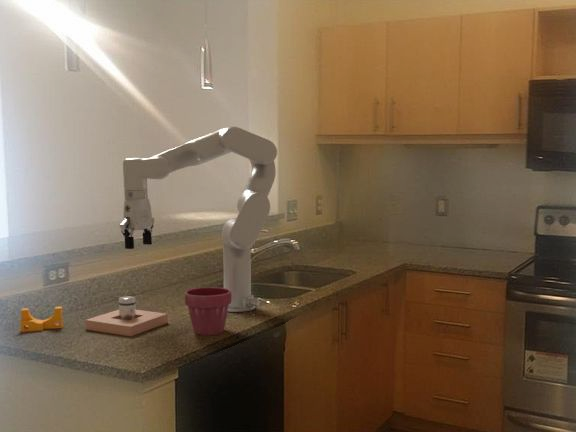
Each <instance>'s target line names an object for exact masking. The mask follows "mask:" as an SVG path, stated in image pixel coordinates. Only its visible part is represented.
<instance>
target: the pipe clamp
mask: <svg viewBox="0 0 576 432" xmlns="http://www.w3.org/2000/svg"><path fill="white" fill-rule="evenodd" d="M20 317H21V318H20V319H21V320H20V332H21V333H25V332H36V331H43V330H45V329H46V330H48V329H49V330H50V329H63V326H64V325H63V324H64V321H63V306H55V307H54V313H53V314H52V315H51V316H50V317H48V318H46V319H38V318H35V317H34V316H33V315H32V314H31V312H30V307H28V308H27V307H25V308H21V309H20Z"/></svg>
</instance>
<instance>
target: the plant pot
mask: <svg viewBox="0 0 576 432" xmlns="http://www.w3.org/2000/svg"><path fill="white" fill-rule="evenodd" d="M231 300H232V294H231V290H229V289H226V288H224V287H218V286H216V287H214V286H211V287H210V286H209V287H208V286H207V287H206V286H205V287H194V288H191V289H187V290H186V291H185V292H184V304H185V305H186V306H187V308H188V311H189V312H188V313H189V318H190V321H191V324H192V325H191V326H192V329H193V333H194V334H195V335H199V334H202V335H201V336H212V335H213V334H214V335H219V334H221V333H223V332H224V330H225V327H226V322H227V316H228V306H229V304H230V303H231Z"/></svg>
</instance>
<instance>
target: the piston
mask: <svg viewBox="0 0 576 432" xmlns="http://www.w3.org/2000/svg"><path fill="white" fill-rule="evenodd" d="M136 304H137V301H136V296H129V295H128V296H121V297H118V310H119V319H120V320H127V321H129V320H132V319H135V318H136V310H137V309H136V308H137V307H136Z"/></svg>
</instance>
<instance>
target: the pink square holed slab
mask: <svg viewBox="0 0 576 432" xmlns="http://www.w3.org/2000/svg"><path fill="white" fill-rule="evenodd" d="M84 323H85V330H88V331H95V332H101V333H107V334H114V335H119V336H127V337H134V336H136V335H140V334H141V333H144V332H146V331H149V330H152V329H155V328H157V327H160V326H164V325H166V324H167V323H168V313H164V312H156V311H149V310H148V311H147V310H143V309H142V310H141V309H136V318H135V319H132V320H129V321H127V320H120V319H119V309H116V310H114V311H110V312H107V313H103V314H100V315H96V316H94V317H90V318H86V319H85V322H84Z"/></svg>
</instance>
